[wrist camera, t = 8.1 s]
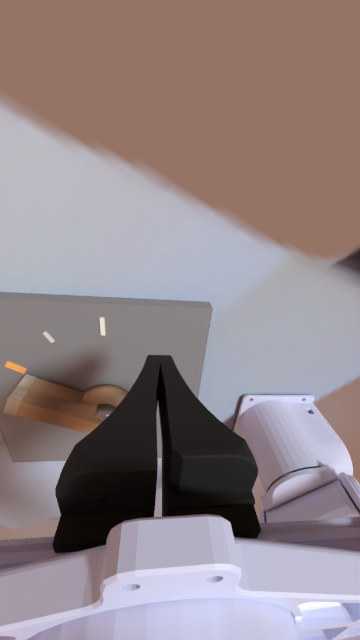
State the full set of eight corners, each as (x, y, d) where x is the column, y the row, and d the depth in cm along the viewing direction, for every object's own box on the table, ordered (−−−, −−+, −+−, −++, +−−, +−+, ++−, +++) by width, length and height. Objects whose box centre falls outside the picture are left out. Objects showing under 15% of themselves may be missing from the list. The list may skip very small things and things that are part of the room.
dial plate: (209, 302, 23) (212, 309, 21) (187, 446, 33) (188, 458, 31) (-37, 290, 20) (-53, 297, 19) (19, 450, 30) (12, 463, 29)
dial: (144, 395, 25) (142, 419, 22) (122, 429, 27) (118, 456, 25) (32, 357, 22) (13, 381, 19) (17, 400, 24) (-2, 427, 21)
